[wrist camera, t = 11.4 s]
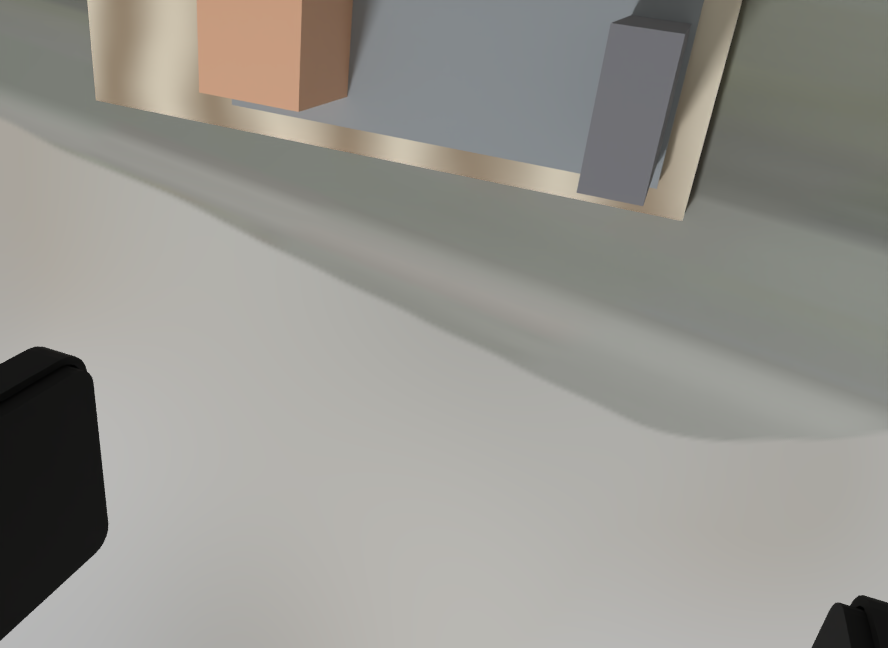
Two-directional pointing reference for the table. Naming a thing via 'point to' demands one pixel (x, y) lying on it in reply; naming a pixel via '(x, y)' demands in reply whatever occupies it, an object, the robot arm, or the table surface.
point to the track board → (177, 94)
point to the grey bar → (523, 82)
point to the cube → (275, 51)
